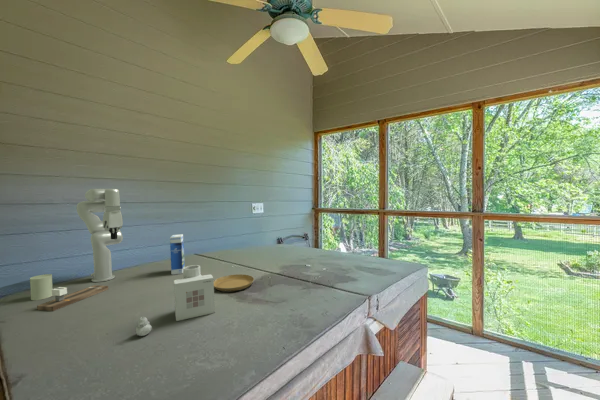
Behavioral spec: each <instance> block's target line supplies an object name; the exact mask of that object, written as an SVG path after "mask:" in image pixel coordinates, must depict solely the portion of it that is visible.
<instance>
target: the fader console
mask: <svg viewBox="0 0 600 400" xmlns="http://www.w3.org/2000/svg"><path fill="white" fill-rule="evenodd" d="M108 290H109V285H97V284H96V285H95V284H94V285H91V286H88V287H86V288H83V289H80V290H78V291H75V292H71V293H69V294H68V293H67V294H64V300H61V301H56V300H55V299H51V300H49V301H46V302H44V303H41V304H37V305H36V310H38V311H47V312H48V311H49V312H55V311H57V310H60V309H61V308H65V307H67V306H70V305H73V304H74V303H76V302H80V301H82V300H85V299H87V298H89V297H92V296H94V295H98V294H100V293H103V292H104V291H108Z"/></svg>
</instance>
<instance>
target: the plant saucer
mask: <svg viewBox="0 0 600 400" xmlns="http://www.w3.org/2000/svg"><path fill="white" fill-rule="evenodd" d="M254 281H255V278H254V276H252V275H249V274H243V273H242V274H241V273H238V274H230V275H228V274H227V275H224V276H221V277H217V278H215V280H214V290H217V291H220V292H227V293H228V292H229V293H230V292H238V291H242V290H246V289H247V288H249V287H250V286H252V284H254V283H253V282H254Z"/></svg>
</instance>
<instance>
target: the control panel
mask: <svg viewBox="0 0 600 400" xmlns="http://www.w3.org/2000/svg"><path fill="white" fill-rule="evenodd" d="M182 274H183V278H178V279H175V280H174V279H173V289H174V290H173V293H174V312H175V313H174V314H175V321H176V322H178V321H183V320H187V319H192V318H197V317H200V316H201V317H202V316H207V315H211V314H214V313H216V310H215V309H216V308H215V288H214V276H213V275H212V274H204V275H202V274H201V265H198V264H193V265H187V266H186V265H185V267H184V268H183V273H182Z"/></svg>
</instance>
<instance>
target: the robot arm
mask: <svg viewBox="0 0 600 400" xmlns="http://www.w3.org/2000/svg"><path fill="white" fill-rule="evenodd" d="M84 198H85V199H86V200H83V201H80V202H78V203H77V204H76V213H77V215H78V217H79V218H80V219H81V220H82V221H83V223H84V224H85V226H86V228H87V230H88V232H89V233H90V234H91V235H90V243H91V246H92V247H91V248H92V256H93V272H92V273H91V274H90V277H93V278H92V279H91V282H93V283H102V282H106V281H107V282H108V281H110V280H114V279H115V277H116V275H115V274H113V272H112V271H113V267H112V252H111V250H110V249H109V248H108V247H107V246H111V245H112V246H113V245H117V244H121V243H122V242H123V240H124V239H123V238H124V237H123V233H122V231H121V230H120V229H122V228H123V224H124V223H123V215H122V211H121V209H122V207H121V199H120V190H119V189H118V188H90V189H88V190H87V191H85V193H84ZM95 213H103V215H102V220H101V219H100V217H99V216H98V215H96V214H95Z"/></svg>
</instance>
